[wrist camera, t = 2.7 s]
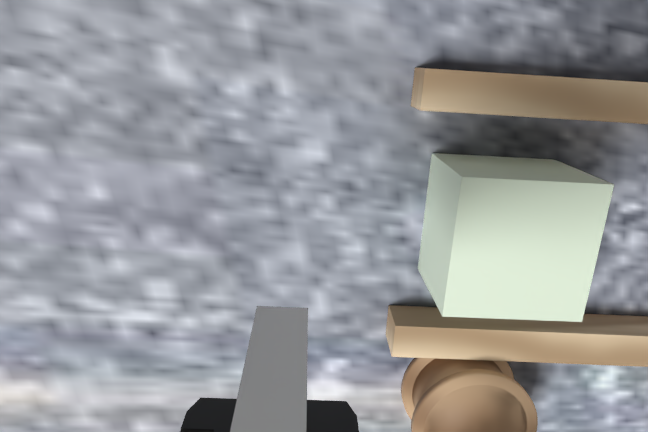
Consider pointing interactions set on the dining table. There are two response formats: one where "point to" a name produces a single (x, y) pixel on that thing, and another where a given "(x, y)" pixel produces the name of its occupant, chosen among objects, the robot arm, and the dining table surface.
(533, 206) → the pale green block
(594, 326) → the track
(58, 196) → the dining table surface
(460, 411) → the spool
